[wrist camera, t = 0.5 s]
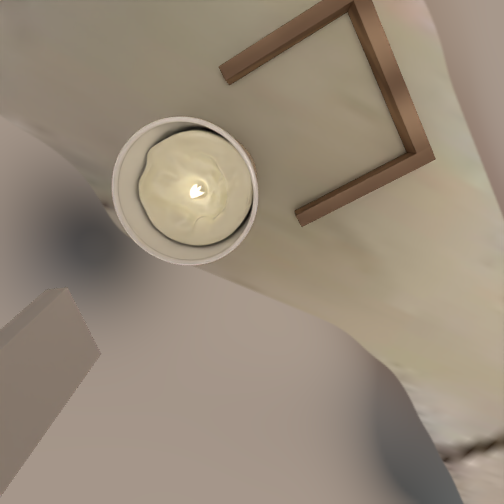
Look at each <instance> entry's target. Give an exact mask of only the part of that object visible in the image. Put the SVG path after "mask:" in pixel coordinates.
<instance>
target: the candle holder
mask: <svg viewBox="0 0 504 504" xmlns="http://www.w3.org/2000/svg"><path fill="white" fill-rule="evenodd" d="M112 198H113V203H114V207H115V211H116V213H117V216H118V218H119V220H120V222H121V224H122V226H123V228H124V229H125V231H126V232H127V234H128V235H129V236H130V237H131V238H132V240H133V241H134V242H135V243H136V244H137V245H138V246H140V247H141V248H142V249H143V250H145V251H146V252H147V253H149V254H151V255H152V256H154V257H156V258H158V259H160V260H163V261H166V262H169V263H173V264H177V265H187V266H193V265H202V264H207V263H210V262H213V261H216V260H218V259H220V258H222V257H224V256H226V255H227V254H229V253H230V252H232V251H233V250H234V249H235V248H236V247H237V246H238V245H239V244H240V243H241V242H242V241H243V240H244V238H245V237H246V236H247V234H248V232H249V231H250V229H251V227H252V225H253V222H254V219H255V216H256V213H257V208H258V183H257V171H256V167H255V163H254V161H253V159H252V157H251V155H250V153H249V152H248V151H247V149H246V148H245V147H244V146H243V145H242V144H241V143H240V142H238V141H237V140H236V139H234V138H233V137H232V136H231V135H230V134H228V133H227V132H226V131H225V130H223V129H222V128H220V127H218V126H217V125H215V124H213V123H210V122H208V121H205V120H202V119H199V118H194V117H187V116H174V117H167V118H162V119H159V120H156V121H153V122H151V123H149V124H147V125H145V126H144V127H142V128H141V129H139V130H138V131H137V132H136V133H134V134H133V135H132V136H131V137H130V138H129V140H128V141H127V142H126V143H125V145H124V146H123V148H122V149H121V151H120V153H119V155H118V157H117V159H116V162H115V165H114V169H113V174H112Z"/></svg>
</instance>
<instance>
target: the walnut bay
mask: <svg viewBox="0 0 504 504" xmlns="http://www.w3.org/2000/svg"><path fill="white" fill-rule="evenodd" d="M346 12H348V14H349V16H350V19H351V21H352V23H353V26H354V28H355V31H356V33H357V35H358V38H359V40H360V42H361V45H362V47H363V50H364V52H365V54H366V57H367V59H368V61H369V64H370V66H371V69H372V71H373V73H374V76H375V78H376V80H377V83H378V85H379V88H380V90H381V92H382V95H383V97H384V99H385V102H386V104H387V107H388V109H389V111H390V114H391V116H392V118H393V121H394V123H395V126H396V128H397V130H398V133H399V135H400V138H401V140H402V142H403V145H404V147H405V149H406V152H407V153H405V154H403V155H401V156H400V157H398V158H396V159H394V160H392V161H390V162H388V163H386V164H384V165H382V166H380V167H378V168H376V169H374V170H372V171H371V172H369V173H367V174H365V175H363V176H361V177H359V178H357V179H355V180H353V181H351V182H349V183H347V184H345V185H343V186H342V187H340V188H338V189H336V190H334V191H332V192H330V193H328V194H326V195H324V196H322V197H320V198H318V199H316V200H314V201H313V202H311V203H309V204H307V205H305V206H303V207H301V208H299V209H297V210H295V214H296V217H297V219H298V221H299V223H300V225H301V227H303V226H305V225H307V224H309V223H311V222H313V221H315V220H317V219H319V218H320V217H322V216H324V215H326V214H328V213H330V212H332V211H334V210H336V209H338V208H340V207H342V206H344V205H346V204H348V203H350V202H352V201H354V200H356V199H358V198H360V197H362V196H364V195H366V194H368V193H370V192H372V191H374V190H376V189H378V188H380V187H382V186H384V185H386V184H388V183H390V182H392V181H394V180H396V179H398V178H400V177H402V176H404V175H406V174H408V173H410V172H412V171H414V170H416V169H418V168H419V167H421V166H423V165H425V164H427V163H429V162H431V161H433V160H435V156H434V154H433V151H432V149H431V146H430V144H429V141H428V139H427V136H426V134H425V131H424V129H423V126H422V124H421V121H420V119H419V116H418V114H417V112H416V109H415V107H414V104H413V102H412V99H411V97H410V94H409V92H408V89H407V87H406V84H405V82H404V79H403V77H402V74H401V72H400V69H399V67H398V64H397V62H396V59H395V57H394V54H393V52H392V49H391V47H390V44H389V42H388V39H387V37H386V35H385V32H384V30H383V27H382V25H381V22H380V20H379V17H378V15H377V12H376V10H375V7H374V5H373V2H372V0H322V1H321V2H319V3H317V4H316V5H314V6H313V7H311V8H310V9H308V10H307V11H305V12H303V13H302V14H300V15H299V16H297V17H296V18H294V19H292V20H291V21H289V22H288V23H286V24H285V25H283V26H281V27H280V28H278V29H277V30H275V31H274V32H272V33H271V34H269V35H267V36H266V37H264V38H263V39H261V40H260V41H258V42H256V43H255V44H253V45H252V46H250V47H249V48H247V49H245V50H244V51H242V52H241V53H239V54H238V55H236V56H234V57H233V58H231V59H230V60H228V61H227V62H225V63H224V64H222V65H220V66H219V69H220V71H221V73H222V75H223V76H224V78H225V80H226V82H227V83H228V84H229V85H231V84H232V83H234V82H235V81H237V80H239V79H240V78H242V77H243V76H245V75H247V74H248V73H250V72H251V71H253V70H255V69H256V68H258V67H259V66H261V65H263V64H264V63H266V62H268V61H269V60H271V59H272V58H274V57H276V56H277V55H279V54H280V53H282V52H284V51H285V50H287V49H288V48H290V47H292V46H293V45H295V44H296V43H298V42H300V41H301V40H303V39H305V38H306V37H308V36H309V35H311V34H313V33H314V32H316V31H317V30H319V29H321V28H322V27H324V26H325V25H327V24H329V23H330V22H332V21H333V20H335V19H337V18H338V17H340V16H342V15H343V14H345V13H346Z"/></svg>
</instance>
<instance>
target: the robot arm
mask: <svg viewBox="0 0 504 504" xmlns="http://www.w3.org/2000/svg"><path fill="white" fill-rule="evenodd" d="M100 355H101V353H100V351H99V349H98V347H97V345H96V343H95V341H94V339H93V337H92V335H91V333H90V331H89V329H88V327H87V325H86V323H85V322H84V319H83V317H82V315H81V313H80V311H79V309H78V307H77V305H76V303H75V301H74V299H73V298H72V295H71V294H70V292H69V290H68V288H67V287H64V288H56V289H47V290H46V291H44V292H43V293H42V294H41V295H40V296H39V297H38V298H36V299H35V300H34V301H33V302H32V303H31V304H29V305H28V306H27V307H26V308H25V309H24V310H22V312H20V313H19V314H18V315H17V316H16V317H14V319H12V320H11V321H10V322H9V323H7V324H6V325H5V326H4V327H3V328H2V329H1V330H0V497H1V495H2V494H3V493H4V491H5V490H6V488H7V487H8V485H9V484H10V483H11V481H12V480H13V478H14V477H15V475H16V474H17V473H18V471H19V470H20V468H21V467H22V466H23V464H24V463H25V461H26V460H27V459H28V457H29V456H30V454H31V453H32V451H33V450H34V449H35V447H36V446H37V444H38V443H39V441H40V440H41V439H42V437H43V436H44V434H45V433H46V432H47V430H48V429H49V427H50V426H51V424H52V423H53V422H54V420H55V418H56V417H57V416H58V415H59V413H60V412H61V410H62V409H63V407H64V406H65V405H66V403H67V401H68V400H69V399H70V397H71V396H72V395H73V393H74V392H75V390H76V389H77V388H78V386H79V385H80V383H81V382H82V380H83V379H84V378H85V376H86V375H87V373H88V372H89V370H90V369H91V367H92V366H93V365H94V363H95V362H96V361H97V359H98V358H99V356H100Z"/></svg>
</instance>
